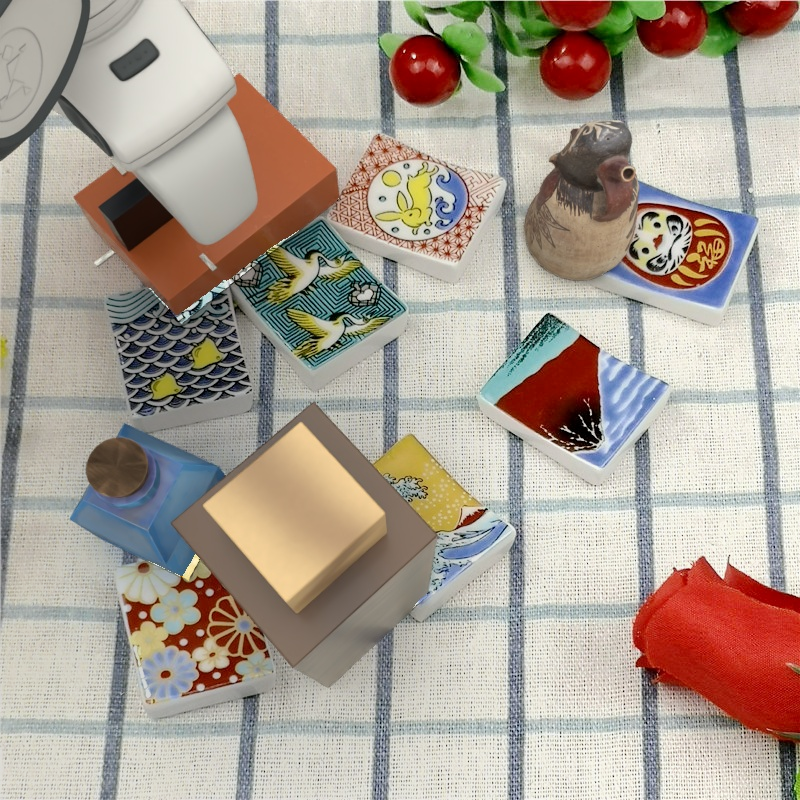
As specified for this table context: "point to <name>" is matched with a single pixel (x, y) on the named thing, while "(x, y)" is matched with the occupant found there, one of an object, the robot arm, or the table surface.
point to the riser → (346, 596)
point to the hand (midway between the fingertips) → (140, 158)
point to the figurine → (585, 204)
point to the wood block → (298, 516)
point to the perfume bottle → (143, 496)
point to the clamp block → (268, 225)
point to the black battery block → (134, 214)
